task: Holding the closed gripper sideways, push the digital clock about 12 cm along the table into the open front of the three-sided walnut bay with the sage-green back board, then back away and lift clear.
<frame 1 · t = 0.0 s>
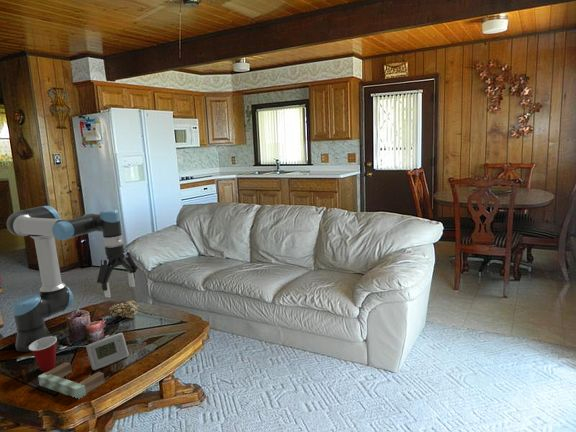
hand: (120, 291, 196), 28 cm above the table, tool pointing down, fingers open, 13 cm apart
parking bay: (74, 382, 176), on the table
plastic cup: (47, 368, 189), on the table
digital clock: (109, 362, 191), on the table
mineral formation: (124, 316, 241), on the table
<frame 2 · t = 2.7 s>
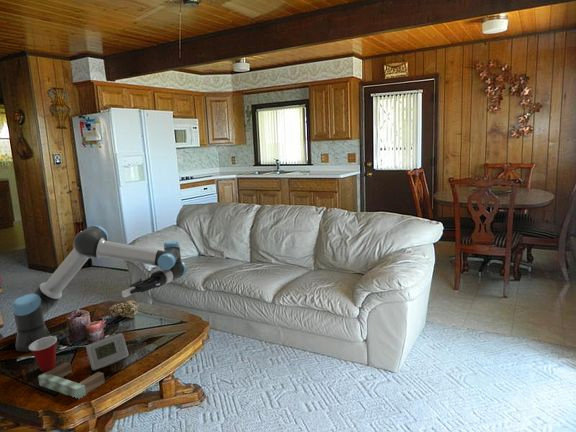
hand: (123, 294, 196), 26 cm above the table, tool horizontal, fingers closed
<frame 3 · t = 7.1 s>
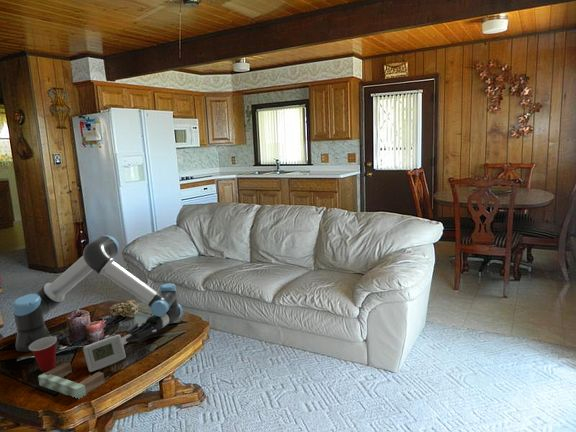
hand: (119, 343, 195), 6 cm above the table, tool horizontal, fingers closed
digital clock: (106, 364, 189), on the table, touching gripper
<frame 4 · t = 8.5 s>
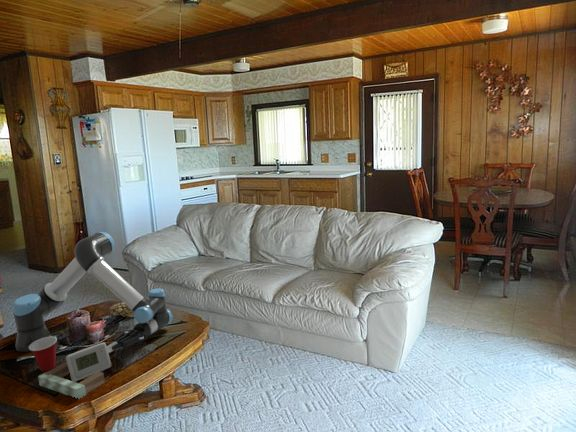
hand: (104, 351, 188), 6 cm above the table, tool horizontal, fingers closed
digital clock: (91, 373, 183), on the table, touching gripper
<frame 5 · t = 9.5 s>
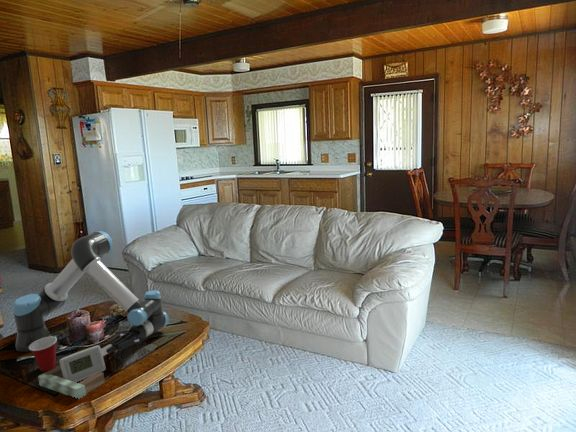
hand: (98, 354, 186), 6 cm above the table, tool horizontal, fingers closed
digital clock: (85, 377, 180), on the table, touching gripper
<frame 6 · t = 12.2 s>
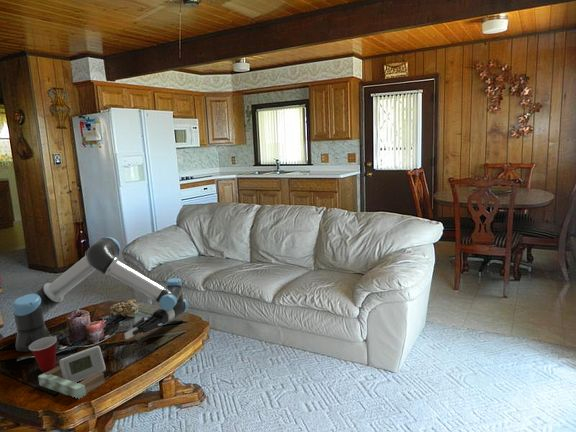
hand: (125, 336, 199), 7 cm above the table, tool horizontal, fingers closed
digital clock: (84, 377, 180), on the table
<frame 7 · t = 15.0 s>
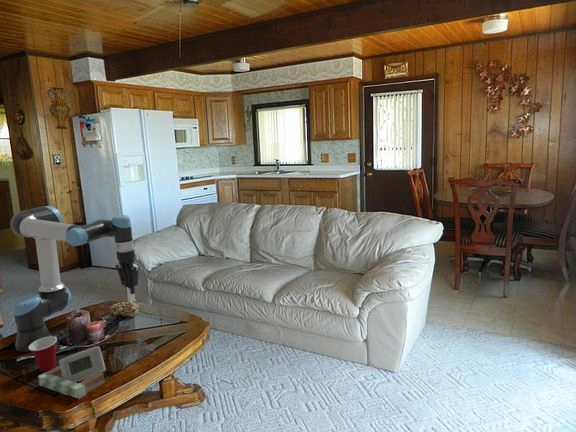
hand: (131, 300, 201), 22 cm above the table, tool pointing down, fingers closed
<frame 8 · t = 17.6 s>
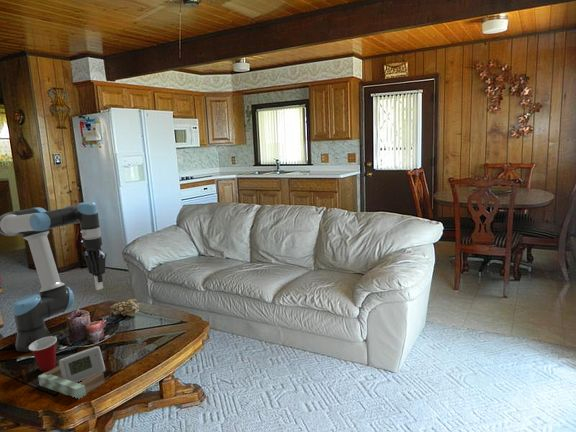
hand: (99, 288, 197), 29 cm above the table, tool pointing down, fingers closed
at the end: digital clock inside the target area (1.0 cm from its centre), on the table; digital clock tilted 0°; digital clock moved 12.9 cm from its start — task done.
